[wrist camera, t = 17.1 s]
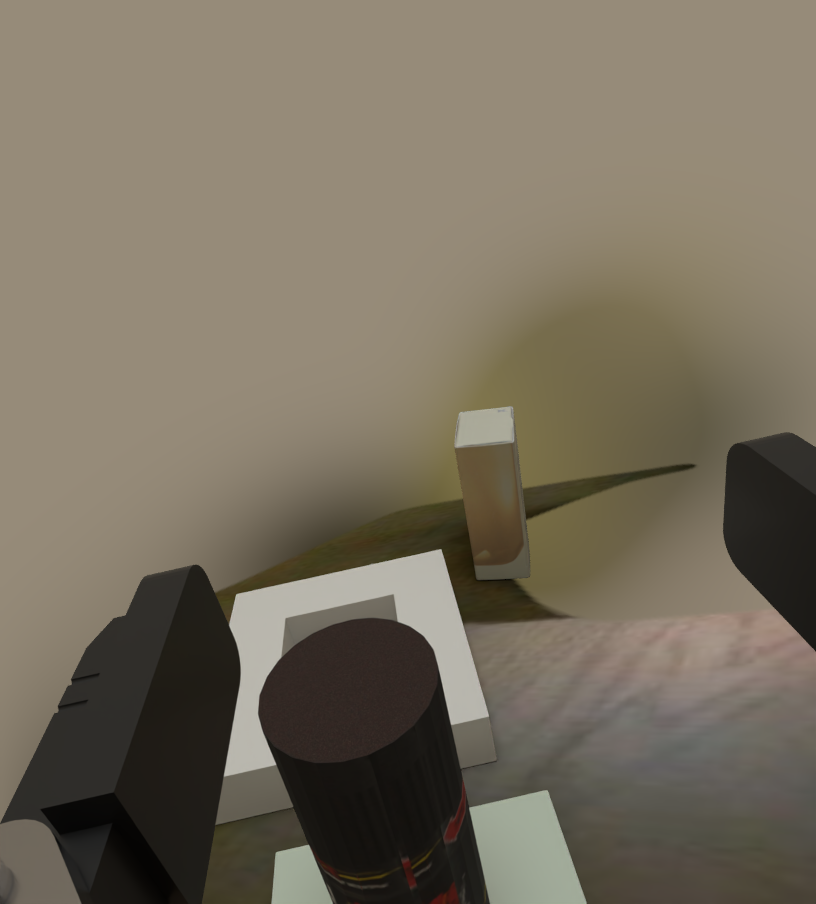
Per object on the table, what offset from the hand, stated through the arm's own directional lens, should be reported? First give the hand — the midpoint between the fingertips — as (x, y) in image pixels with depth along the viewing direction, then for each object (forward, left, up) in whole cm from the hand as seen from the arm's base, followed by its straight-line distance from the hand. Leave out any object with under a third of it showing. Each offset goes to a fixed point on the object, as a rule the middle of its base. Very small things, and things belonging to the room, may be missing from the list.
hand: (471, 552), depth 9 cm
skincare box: (-6, -34, -25) cm, 42 cm away
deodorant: (+4, -7, -24) cm, 26 cm away
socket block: (+7, -24, -25) cm, 35 cm away
